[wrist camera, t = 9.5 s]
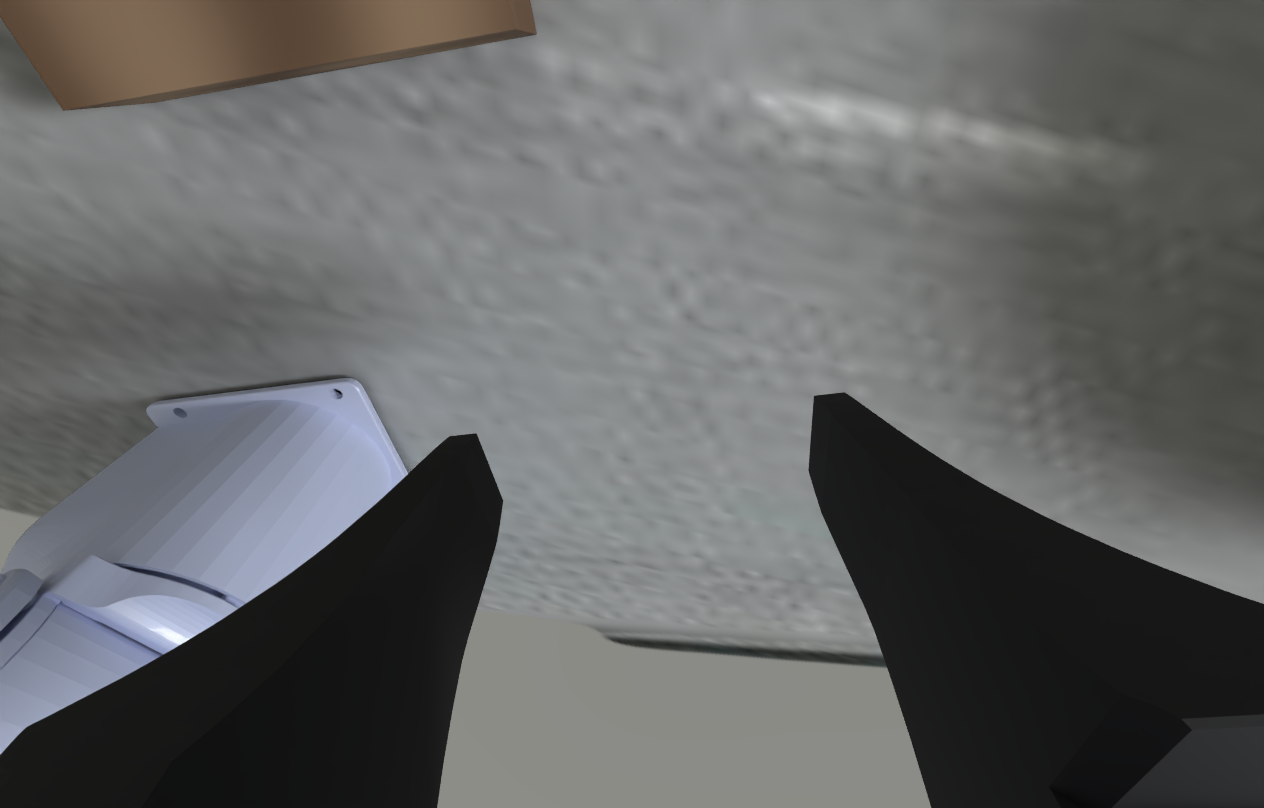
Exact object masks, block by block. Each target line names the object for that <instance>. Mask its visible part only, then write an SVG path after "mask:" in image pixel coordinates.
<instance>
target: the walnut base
mask: <svg viewBox="0 0 1264 808" xmlns="http://www.w3.org/2000/svg"><path fill="white" fill-rule="evenodd" d="M0 17H1V19H2V20H3V22H4V23H5V25H6V26H7V28H8V29H9V31H10V32H11V34H12V35H13V36H14V38H15V39H16V41H17V42H18V44H19V45H20V47H21V48H22V50H23V51H24V53H25V54H26V56H27V57H28V59H29V60H30V62H31V63H32V65H33V66H34V68H35V69H36V71H37V72H38V74H39V75H40V77H41V78H42V80H43V81H44V83H45V84H46V86H47V87H48V89H49V90H50V92H51V93H52V95H53V96H54V98H55V99H56V101H57V102H58V104H59V105H60V107H61V108H62V109H63V111H64V110H75V109H87V108H98V107H110V106H121V105H132V104H144V103H155V102H161V101H166V100H172V99H178V98H183V97H189V96H194V95H200V94H206V93H211V92H217V91H222V90H228V89H234V88H239V87H245V86H250V85H256V84H262V83H267V82H273V81H278V80H284V79H290V78H295V77H301V76H306V75H312V74H318V73H323V72H329V71H335V70H340V69H346V68H351V67H357V66H363V65H368V64H374V63H379V62H385V61H391V60H396V59H402V58H407V57H413V56H419V55H424V54H430V53H435V52H441V51H447V50H452V49H458V48H463V47H469V46H475V45H480V44H486V43H491V42H497V41H503V40H508V39H514V38H519V37H525V36H531V35H536V34H537V33H536V28H535V23H534V18H533V13H532V8H531V3H530V0H0Z"/></svg>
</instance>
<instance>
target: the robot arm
mask: <svg viewBox="0 0 1264 808" xmlns="http://www.w3.org/2000/svg"><path fill="white" fill-rule="evenodd" d="M335 389H338V390H340V391H341V393H342V394H340V393H338V392H336V391H335ZM146 413H147V415H148V416H149V418H150V419H151V420H152V421H153V422H154V424H155V425H156V426H157V427H158V428H157V429H156V430H154V431H153V432H152V433H150V434H149V435H148V436H146V437H145V438H144V439H143V440H141V441H140V442H139V443H137V444H136V445H135V446H133V447H132V448H131V449H130V450H128V451H127V452H126V453H124V454H123V455H122V456H120V457H119V458H118V459H116V460H115V461H114V462H113V463H111V464H110V465H109V466H107V467H106V468H105V469H103V470H102V471H101V472H99V473H98V474H97V475H96V476H94V477H93V478H92V479H90V480H89V481H88V482H86V483H85V484H84V485H83V486H81V487H80V488H79V489H77V490H76V491H75V492H73V493H72V494H71V495H69V496H68V497H67V498H66V499H64V500H63V501H62V502H60V503H59V504H58V505H56V506H55V507H54V508H53V509H51V510H50V511H49V512H47V513H46V514H45V515H43V516H42V517H41V518H40V519H38V520H37V521H36V522H35V523H34V524H33V525H32V526H31V527H29V528H28V529H27V530H26V531H25V532H24V534H23V535H22V536H21V537H20V538H19V540H18V541H17V542H16V544H15V545H14V547H13V548H12V550H11V551H10V553H9V555H8V557H7V559H6V561H5V563H4V566H3V568H2V571H1V574H0V808H437V804H438V797H439V789H440V783H441V776H442V769H443V762H444V756H445V750H446V744H447V739H448V732H449V727H450V720H451V715H452V709H453V704H454V699H455V694H456V689H457V684H458V679H459V674H460V668H461V663H462V659H463V655H464V651H465V647H466V644H467V640H468V636H469V633H470V630H471V626H472V623H473V620H474V616H475V613H476V610H477V607H478V603H479V600H480V597H481V594H482V590H483V587H484V584H485V581H486V577H487V574H488V571H489V567H490V564H491V560H492V557H493V554H494V550H495V546H496V543H497V538H498V532H499V526H500V519H501V512H502V505H503V499H502V497H501V494H500V492H499V489H498V487H497V484H496V482H495V479H494V477H493V474H492V471H491V469H490V466H489V464H488V461H487V459H486V456H485V454H484V451H483V449H482V446H481V444H480V441H479V439H478V436H477V434H467V435H458V436H450V437H448V438H447V439H446V440H445V441H443V442H442V443H441V444H440V445H439V446H438V447H437V448H435V449H434V450H433V451H432V452H431V453H430V454H429V455H428V456H427V457H426V458H425V459H423V460H422V461H421V462H420V463H419V464H418V465H417V466H416V467H415V468H414V469H413V470H412V471H411V472H410V473H409V474H408V472H407V470H406V469H405V467H404V465H403V463H402V461H401V459H400V457H399V455H398V453H397V451H396V449H395V447H394V446H393V444H392V442H391V440H390V438H389V436H388V434H387V432H386V430H385V428H384V426H383V424H382V422H381V421H380V419H379V417H378V415H377V413H376V411H375V409H374V407H373V405H372V403H371V401H370V399H369V398H368V396H367V394H366V392H365V390H364V388H363V386H362V385H361V384H360V383H359V382H358V381H357V380H355V379H352V378H341V379H333V380H325V381H317V382H309V383H301V384H293V385H285V386H276V387H268V388H260V389H252V390H244V391H236V392H228V393H220V394H212V395H204V396H196V397H188V398H179V399H171V400H163V401H156V402H154V403H152V404H151V405H149V406H148V407H147V409H146ZM809 474H810V477H811V480H812V484H813V487H814V490H815V494H816V497H817V500H818V503H819V506H820V509H821V513H822V515H823V517H824V519H825V522H826V524H827V526H828V528H829V530H830V533H831V535H832V537H833V539H834V541H835V544H836V546H837V548H838V550H839V552H840V555H841V557H842V559H843V561H844V563H845V565H846V568H847V570H848V572H849V574H850V576H851V578H852V581H853V583H854V585H855V587H856V589H857V591H858V594H859V596H860V598H861V600H862V602H863V604H864V607H865V609H866V611H867V614H868V616H869V619H870V621H871V623H872V626H873V628H874V631H875V634H876V636H877V639H878V642H879V645H880V648H881V651H882V654H883V657H884V660H885V663H886V665H887V668H888V671H889V674H890V677H891V680H892V683H893V686H894V689H895V692H896V695H897V698H898V701H899V705H900V708H901V711H902V714H903V717H904V720H905V723H906V726H907V729H908V732H909V735H910V738H911V741H912V745H913V748H914V751H915V755H916V758H917V761H918V765H919V768H920V771H921V774H922V778H923V781H924V785H925V788H926V791H927V794H928V798H929V801H930V805H931V808H1264V604H1262V603H1259V602H1256V601H1253V600H1250V599H1247V598H1244V597H1241V596H1238V595H1235V594H1232V593H1229V592H1227V591H1224V590H1221V589H1218V588H1216V587H1213V586H1210V585H1208V584H1205V583H1202V582H1200V581H1197V580H1194V579H1192V578H1189V577H1186V576H1184V575H1181V574H1178V573H1176V572H1173V571H1170V570H1168V569H1165V568H1162V567H1160V566H1157V565H1155V564H1152V563H1150V562H1148V561H1145V560H1143V559H1140V558H1138V557H1135V556H1133V555H1130V554H1128V553H1125V552H1123V551H1120V550H1118V549H1116V548H1113V547H1111V546H1109V545H1107V544H1104V543H1102V542H1100V541H1098V540H1095V539H1093V538H1091V537H1088V536H1086V535H1084V534H1082V533H1079V532H1077V531H1075V530H1073V529H1070V528H1068V527H1066V526H1064V525H1062V524H1060V523H1057V522H1055V521H1053V520H1051V519H1049V518H1047V517H1045V516H1043V515H1041V514H1039V513H1037V512H1035V511H1033V510H1031V509H1029V508H1027V507H1025V506H1023V505H1021V504H1019V503H1017V502H1015V501H1013V500H1012V499H1010V498H1008V497H1006V496H1004V495H1002V494H1000V493H998V492H996V491H994V490H993V489H991V488H989V487H987V486H985V485H984V484H982V483H980V482H978V481H977V480H975V479H973V478H972V477H970V476H968V475H967V474H965V473H963V472H962V471H960V470H958V469H957V468H955V467H953V466H952V465H950V464H948V463H947V462H945V461H944V460H942V459H940V458H939V457H937V456H936V455H934V454H933V453H931V452H929V451H928V450H926V449H925V448H923V447H922V446H920V445H919V444H917V443H916V442H914V441H913V440H912V439H910V438H909V437H907V436H906V435H904V434H903V433H901V432H900V431H898V430H897V429H896V428H894V427H893V426H891V425H890V424H889V423H887V422H886V421H884V420H883V419H882V418H880V417H879V416H877V415H876V414H875V413H873V412H872V411H870V410H869V409H868V408H866V407H865V406H863V405H862V404H861V403H859V402H858V401H856V400H855V399H854V398H852V397H851V396H849V395H848V394H846V393H845V392H844V393H835V394H826V395H817V396H814V403H813V417H812V431H811V444H810V458H809Z"/></svg>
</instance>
